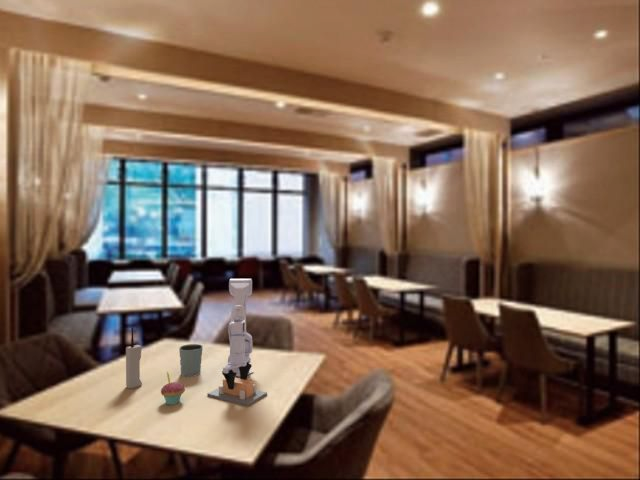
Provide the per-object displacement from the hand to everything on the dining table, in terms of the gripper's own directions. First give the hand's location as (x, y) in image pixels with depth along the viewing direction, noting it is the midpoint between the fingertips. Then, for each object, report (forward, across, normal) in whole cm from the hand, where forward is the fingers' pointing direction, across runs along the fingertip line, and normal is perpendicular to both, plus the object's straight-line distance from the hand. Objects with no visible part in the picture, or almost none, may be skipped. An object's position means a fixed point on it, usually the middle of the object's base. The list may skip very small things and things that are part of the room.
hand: (237, 385), depth 159 cm
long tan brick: (+3, 0, 0) cm, 3 cm away
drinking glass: (+4, +10, +35) cm, 37 cm away
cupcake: (+4, -16, +18) cm, 24 cm away
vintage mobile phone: (+4, -13, +44) cm, 46 cm away
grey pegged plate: (+4, 0, 0) cm, 4 cm away
